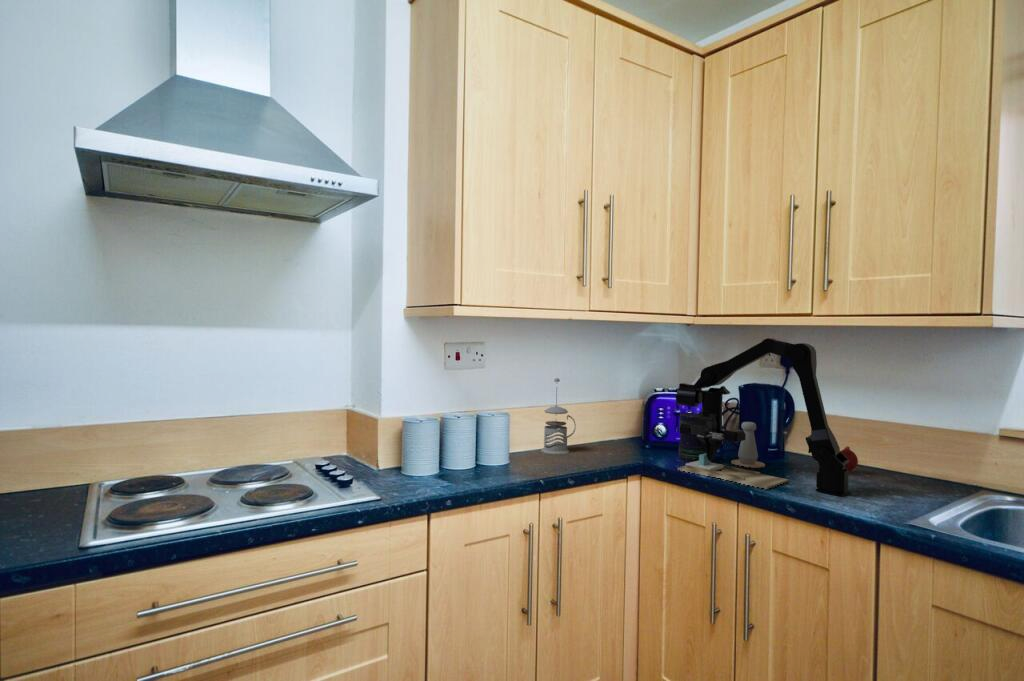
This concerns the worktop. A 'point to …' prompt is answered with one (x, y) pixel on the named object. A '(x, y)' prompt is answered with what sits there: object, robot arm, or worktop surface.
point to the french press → (556, 431)
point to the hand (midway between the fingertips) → (710, 460)
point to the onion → (850, 458)
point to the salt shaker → (748, 444)
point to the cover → (705, 463)
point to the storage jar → (689, 441)
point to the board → (738, 476)
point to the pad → (756, 465)
